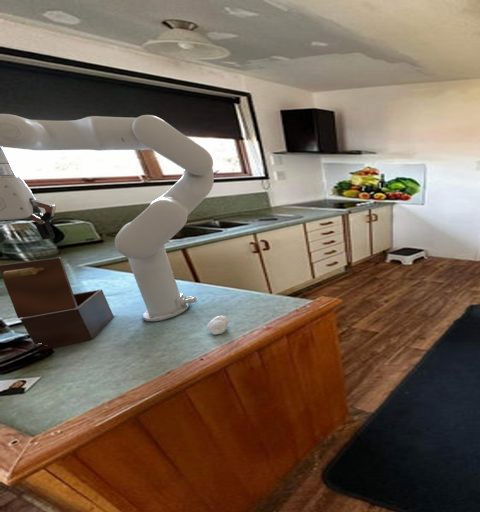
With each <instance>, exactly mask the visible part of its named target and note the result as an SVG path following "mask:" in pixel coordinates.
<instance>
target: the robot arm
mask: <svg viewBox="0 0 480 512" xmlns="http://www.w3.org/2000/svg"><path fill="white" fill-rule="evenodd" d="M4 148H9V149H19V150H30V151H87V150H88V151H154V152H155V153H157V154H159V155H160V156H161V157H163V158H165V159H166V160H168V161H170V162H171V163H173V164H175V165H176V166H178V167H180V168H181V169H183V173H182V176H181V178H179V180H177V181H176V182H175V183H174V184H173V186H171V187H170V188H169V189H168V190H167V191H166V192H164V193H163V194H162V195H161V196H159V197H158V198H156V199H155V200H152V201H151V203H150V204H149V205H148V207H146V208H145V209H144V210H143V211H142V212H140V213H139V214H138V215H137V216H136V217H135V218H134V219H133V220H131V221H130V222H128V223H126V224H124V225H123V226H122V227H121V229H120V230H119V232H117V234H116V235H115V237H114V246H115V249H116V250H117V251H118V253H119V254H120V255H121V256H124V257H125V258H127V261H128V263H129V266H130V269H131V271H132V274H133V278H134V280H135V283H136V285H137V288H138V290H139V293H140V295H141V298H142V300H143V303H144V305H145V308H146V311H144V312H143V314H142V317H143V320H144V321H147V322H159V321H165V320H168V319H171V318H174V317H176V316H179V315H180V314H182V313H184V312H185V311H186V310H188V308H189V307H190V304H195V303H197V302H198V300H197V297H196V296H194V295H188V296H185V294H184V293H183V292H180V290H179V288H178V285H177V281H176V278H175V275H174V272H173V269H172V266H171V262H170V259H169V257H168V252H167V250H166V244H167V243H169V241H171V239H173V238H174V236H175V235H177V233H179V232H180V231H181V230H182V229H183V228H184V226H185V225H186V224H187V221H188V217H189V215H190V214H191V213H192V211H194V210H195V209H196V208H197V207H198V206H199V205H200V204H201V203H202V202H203V201H204V200H205V199H206V198H207V196H208V195H209V194H210V193H211V191H212V188H213V186H214V181H215V173H214V168H213V167H214V159H213V157H212V155H211V154H210V152H209V151H208V150H207V149H205V148H204V147H202V146H201V144H199V143H197V142H195V141H194V140H192V139H191V138H190V137H188V136H187V135H185V134H183V133H182V132H181V131H180V130H178V129H176V128H175V127H173V125H171V124H169V123H168V122H167V121H165V120H164V119H162V118H160V117H158V116H156V115H153V114H143V115H140V116H137V117H123V116H99V115H91V116H86V117H82V118H80V119H75V120H73V119H72V120H49V119H29V118H26V117H24V116H23V117H22V116H19V115H15V114H10V113H0V221H10V220H22V219H27V218H28V219H29V220H31V221H33V222H35V223H36V224H35V227H36V229H37V231H38V233H39V236H40V238H41V239H42V240H49V239H51V238H54V237H55V235H54V234H55V232H54V230H53V228H52V226H51V224H50V223H51V222H52V220H53V218H54V217H55V215H56V214H55V213H56V210H57V209H56V208H57V205H55V204H51V203H48V202H45V201H41V200H38V199H37V198H36V197H35V195H34V194H33V192H32V190H31V189H30V188H29V186H28V184H27V183H26V182H25V181H24V180H23V179H22V177H21V176H17V174H16V172H15V170H14V168H13V165H12V163H11V162H10V159H9V157H8V155H7V153H6V151H5V149H4ZM42 209H44V213H42ZM4 241H5V239H4V237H3V236H2V234H1V233H0V244H1V243H3V242H4Z"/></svg>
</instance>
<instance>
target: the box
mask: <svg viewBox="0 0 480 512" xmlns="http://www.w3.org/2000/svg"><path fill="white" fill-rule="evenodd" d="M73 294H74V297H75V300H76V303H77V306H78V307H77V308H73V309H67V310H61V311H56V312H50V313H45V314H39V315H34V316H28V317H23V318H19V319H20V322H21V324H22V325H23V327H24V329H25V330H26V332H27V334H28V335H29V337H30V339H31V341H32V342H33V344H34V345H35V344H38V343H42V344H44V345H48V346H44V347H40V348H38V349H37V351H38V352H39V351H45V350H49V349H53V348H58V347H61V346H62V347H63V346H67V345H72V344H78V343H82V342H87V341H90V340H93V339H94V338H95V337H96V336H97V335H98V334H99V333H100V332H101V331H102V330H103V329H104V328H105V327H106V326H107V325H108V324H109V323H110V322H111V320H112V319H114V316H115V315H114V313H113V312H112V309H111V307H110V305H109V302H108V300H107V298H106V296H105V294H104V291H103V289H96V290H90V291H84V292H78V293H77V292H76V293H73Z"/></svg>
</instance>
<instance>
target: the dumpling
mask: <svg viewBox="0 0 480 512" xmlns="http://www.w3.org/2000/svg"><path fill="white" fill-rule="evenodd" d="M228 324H229V318H228V317H227V316H225V315H217V316H215V317H214V318H212V319H211V320H209V322H208V323H207V325H206V329H207V330H208V331H210V333H211V334H212V335H214V336H215V335H222V334H223V333H225V332H226V330H227V328H228Z"/></svg>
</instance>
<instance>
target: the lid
mask: <svg viewBox="0 0 480 512" xmlns="http://www.w3.org/2000/svg"><path fill="white" fill-rule="evenodd" d="M66 271H67V270H66V268H65V265H64V262H63V258H62V257H53V258H45V259H39V260H38V259H37V260H29V261H22V262H15V263H14V262H13V263H7V264H6V263H5V264H0V275H1V278H2V281H3V283H4V285H5V289H6V291H7V293H8V296H9V299H10V301H11V304H12V306H13V309H14V311H15V314H16V317H17V319H21V318H23V317H28V316H34V315H39V314H45V313H50V312H56V311H61V310H67V309H73V308H77V307H78V306H77V303H76V300H75V297H74V294H75V293H74V291H73V289H72V286H71V283H70V280H69V277H68V274H67V272H66Z"/></svg>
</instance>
